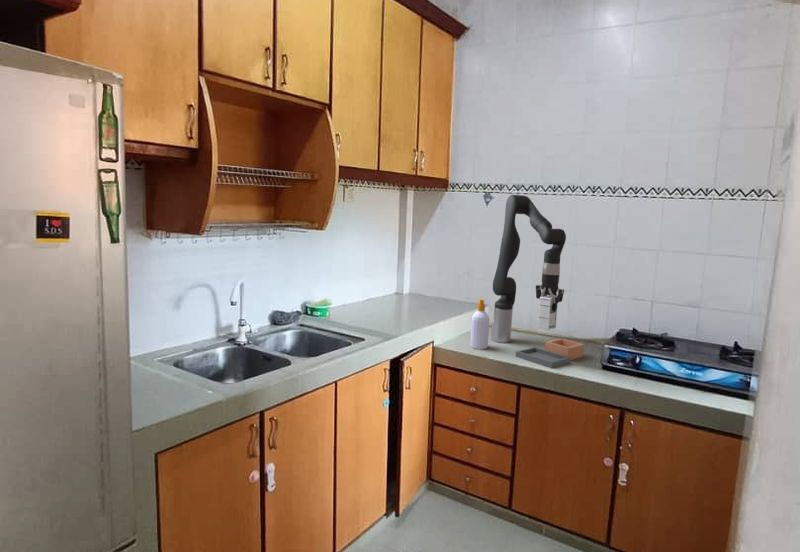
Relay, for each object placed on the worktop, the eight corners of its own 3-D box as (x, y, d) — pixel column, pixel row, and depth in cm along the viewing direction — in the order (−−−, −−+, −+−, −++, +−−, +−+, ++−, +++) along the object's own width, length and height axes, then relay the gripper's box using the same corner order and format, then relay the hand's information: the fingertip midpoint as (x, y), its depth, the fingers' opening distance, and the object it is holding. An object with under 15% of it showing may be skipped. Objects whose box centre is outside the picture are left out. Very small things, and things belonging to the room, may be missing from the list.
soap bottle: (487, 344, 263) (489, 298, 259) (488, 349, 253) (491, 301, 250) (469, 343, 263) (472, 297, 260) (470, 348, 254) (473, 300, 251)
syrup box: (548, 330, 234) (551, 298, 232) (537, 327, 239) (539, 296, 237) (555, 328, 238) (558, 297, 236) (544, 325, 243) (547, 295, 241)
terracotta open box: (544, 354, 249) (545, 341, 249) (560, 350, 257) (561, 338, 256) (567, 360, 240) (568, 348, 239) (582, 356, 247) (583, 344, 247)
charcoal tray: (515, 356, 244) (515, 351, 243) (534, 352, 252) (534, 346, 252) (551, 368, 228) (551, 362, 228) (570, 363, 237) (570, 357, 236)
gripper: (532, 271, 238) (529, 307, 240) (559, 275, 227) (556, 313, 229) (542, 270, 243) (539, 306, 245) (569, 274, 232) (566, 311, 234)
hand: (548, 309), depth 237 cm, fingers closed on syrup box, 6 cm apart
